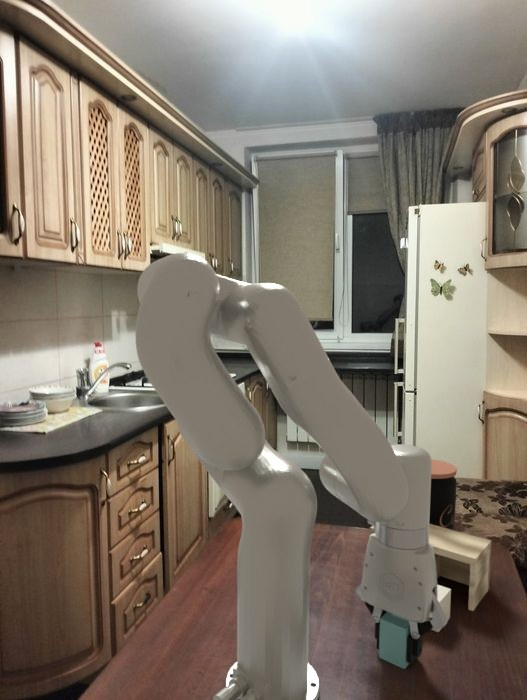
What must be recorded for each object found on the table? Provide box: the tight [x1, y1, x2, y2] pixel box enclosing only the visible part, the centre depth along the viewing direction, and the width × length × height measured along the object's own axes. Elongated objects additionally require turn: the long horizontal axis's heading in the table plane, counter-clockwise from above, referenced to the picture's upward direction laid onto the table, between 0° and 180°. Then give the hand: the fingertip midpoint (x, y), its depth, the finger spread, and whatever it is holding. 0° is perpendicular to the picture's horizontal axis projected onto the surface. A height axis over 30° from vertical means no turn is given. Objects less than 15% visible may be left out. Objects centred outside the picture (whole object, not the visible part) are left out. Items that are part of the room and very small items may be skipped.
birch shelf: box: [369, 524, 492, 612], centre depth 101 cm, size 9×20×9 cm, turn 51°
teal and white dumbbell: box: [378, 584, 452, 670], centre depth 85 cm, size 16×5×6 cm, turn 141°
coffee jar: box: [429, 458, 458, 531], centre depth 114 cm, size 11×11×18 cm
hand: (397, 650), depth 80 cm, fingers closed on teal and white dumbbell, 4 cm apart
